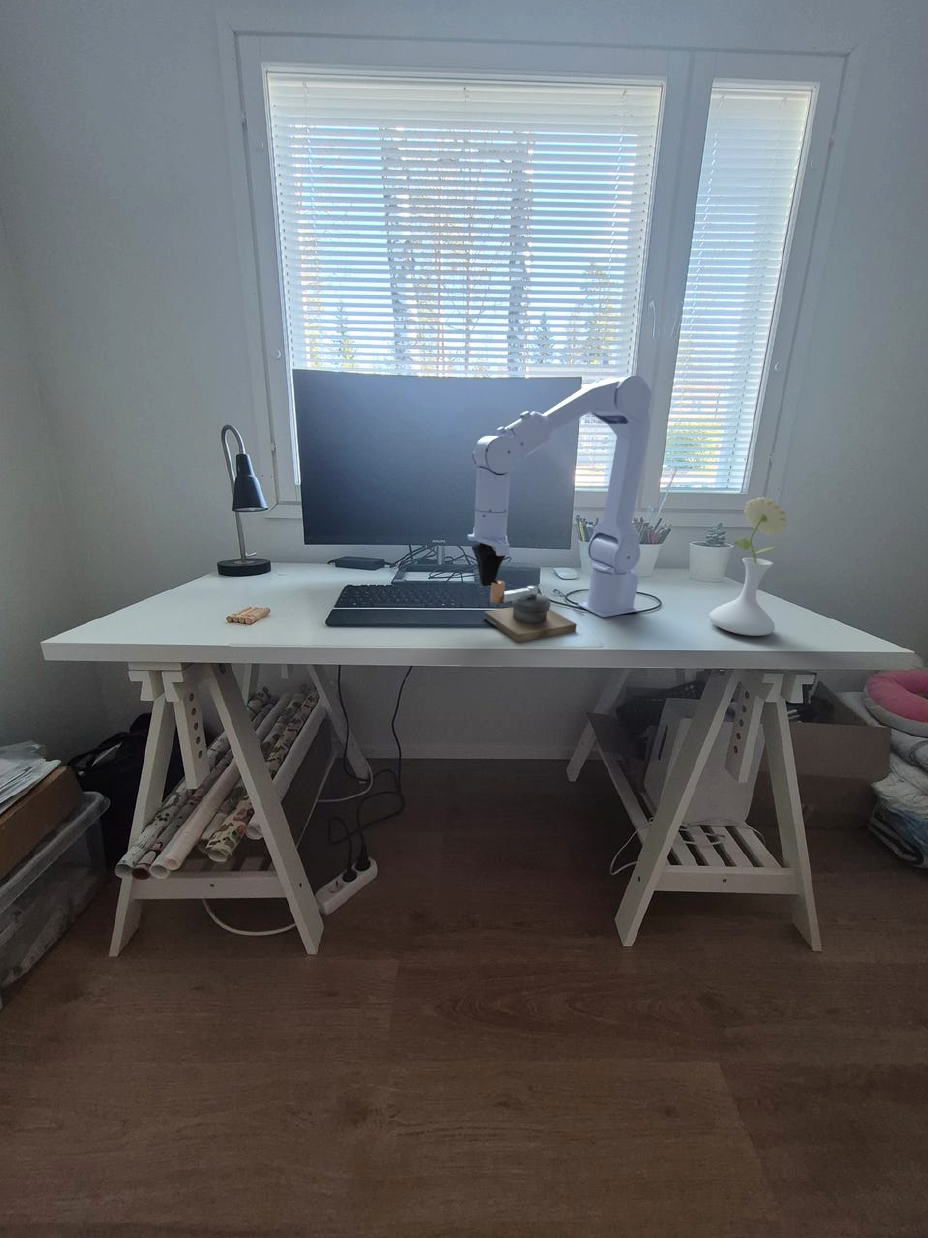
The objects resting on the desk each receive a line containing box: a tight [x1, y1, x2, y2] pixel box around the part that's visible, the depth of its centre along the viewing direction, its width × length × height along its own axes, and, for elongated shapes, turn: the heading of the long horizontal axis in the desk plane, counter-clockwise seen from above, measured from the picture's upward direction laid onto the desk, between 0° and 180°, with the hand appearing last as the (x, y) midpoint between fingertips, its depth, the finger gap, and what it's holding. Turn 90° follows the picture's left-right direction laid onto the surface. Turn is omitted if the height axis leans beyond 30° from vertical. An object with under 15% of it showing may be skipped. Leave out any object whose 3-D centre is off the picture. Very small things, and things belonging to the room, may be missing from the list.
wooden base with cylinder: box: [483, 592, 578, 643], centre depth 89 cm, size 13×12×6 cm
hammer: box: [489, 579, 539, 605], centre depth 85 cm, size 10×2×4 cm, turn 122°
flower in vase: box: [708, 496, 788, 637], centre depth 88 cm, size 13×11×25 cm
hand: (487, 584), depth 87 cm, fingers closed
